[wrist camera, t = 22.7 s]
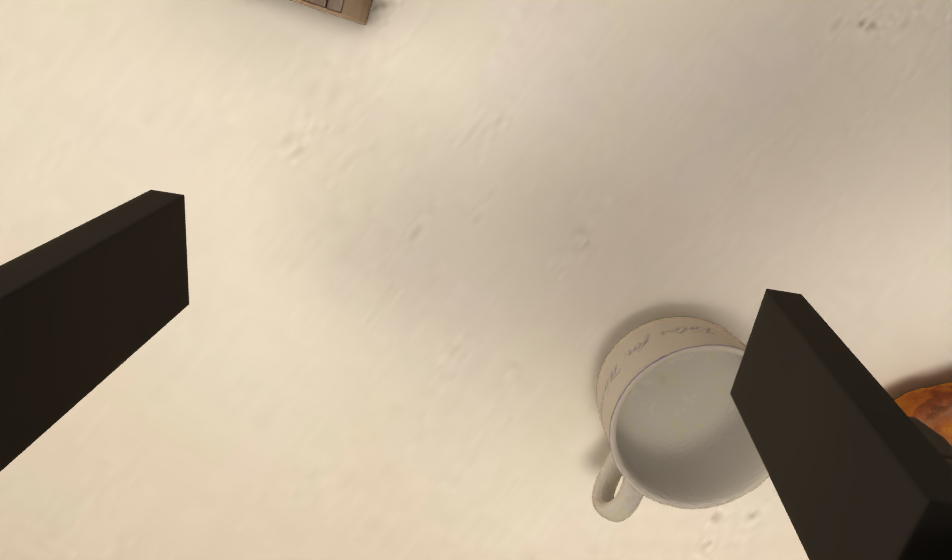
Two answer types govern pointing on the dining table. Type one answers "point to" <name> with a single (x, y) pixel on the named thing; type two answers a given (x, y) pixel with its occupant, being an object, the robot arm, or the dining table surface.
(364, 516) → the dining table surface
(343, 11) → the caddy
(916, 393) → the croissant
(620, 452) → the teacup
